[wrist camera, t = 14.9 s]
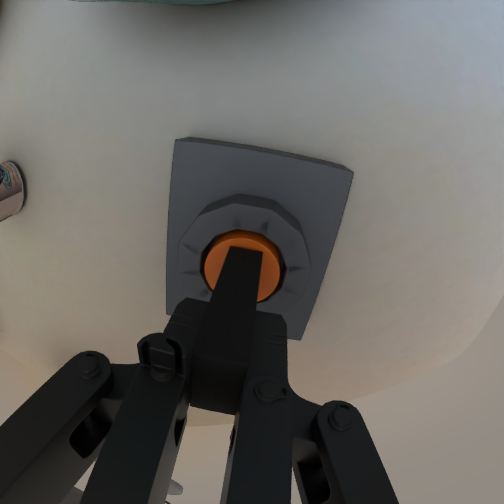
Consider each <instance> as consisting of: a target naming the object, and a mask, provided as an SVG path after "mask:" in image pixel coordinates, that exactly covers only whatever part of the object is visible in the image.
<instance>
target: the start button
mask: <svg viewBox="0 0 504 504" xmlns="http://www.w3.org/2000/svg"><path fill="white" fill-rule="evenodd" d="M230 246H234V247H239V248H245V249H250V250H255V251H261V252H263V257H262V265H261V273H260V282H259V290H258V298H257V302H258V301H261V300H263V299H264V298H266V297H267V296H269V295H270V294H271V293H272V292H273V291H274V289H275V288H276V286H277V284H278V281H279V277H280V254H279V249H278V246H276V245H275V244H274V243H273V242H271V241H270V240H269V239H268V238H267V237H265V236H264V235H263V234H262V233H257V232H252V231H247V230H241V229H235V230H232V231H229V232H226V233H223V234H220V235H219V236H218V237H217V239H216V240H215V242H214V244H213V246H212V248H211V250H210V252H209V254H208V256H207V258H206V261H205V276H206V279H207V281H208V283H209V285H210V287H211V288H212V289H213V290H214V288H215V285H216V282H217V279H218V277H219V274H220V271H221V269H222V266H223V263H224V260H225V258H226V255H227V252H228V250H229V247H230Z"/></svg>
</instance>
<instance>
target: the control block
mask: <svg viewBox="0 0 504 504" xmlns="http://www.w3.org/2000/svg"><path fill="white" fill-rule="evenodd" d="M353 175H354V172H353V171H351V170H350V169H348V168H347V167H345V166H344V165H340V164H336V163H332V162H328V161H324V160H320V159H315V158H311V157H307V156H302V155H298V154H293V153H288V152H283V151H278V150H273V149H267V148H262V147H256V146H250V145H244V144H238V143H231V142H224V141H217V140H209V139H201V138H193V137H186V138H181V139H176V140H175V144H174V153H173V162H172V173H171V184H170V196H169V211H168V229H167V256H166V314H167V315H170V316H172V314H173V312H174V310H175V308H176V306H177V304H178V303H179V302H181V301H182V300H184V299H185V298H186V297H189V298H193V299H198V300H202V301H207V302H209V301H210V299H211V296H212V293H213V289H212V288H211V287H210V285H209V283H208V281H207V279H206V276H205V261H206V258H207V256H208V254H209V252H210V250H211V248H212V246H213V244H214V242H215V240H216V239H217V237H218V236H219V235H220V234H223V233H226V232H229V231H232V230H235V229H241V230H247V231H252V232H257V233H262V234H263V235H264V236H265V237H267V238H268V239H269V240H270V241H271V242H273V243H274V244H275V245H276V246H278V249H279V254H280V277H279V281H278V284H277V286H276V288H275V289H274V291H273V292H272V293H271V294H270V295H269V296H267V297H266V298H264V299H263V300H261V301H258V302H257V306H256V310H258V311H263V312H269V313H275V314H281V315H282V317H283V318H284V320H285V322H286V324H287V339H293V340H301V339H302V336H303V334H304V331H305V328H306V326H307V323H308V320H309V318H310V315H311V312H312V309H313V307H314V304H315V301H316V298H317V295H318V292H319V289H320V286H321V284H322V281H323V278H324V275H325V272H326V268H327V265H328V262H329V259H330V256H331V253H332V250H333V246H334V243H335V240H336V237H337V233H338V230H339V226H340V223H341V219H342V216H343V212H344V209H345V205H346V202H347V198H348V194H349V190H350V187H351V183H352V179H353Z"/></svg>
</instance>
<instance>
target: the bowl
mask: <svg viewBox="0 0 504 504" xmlns="http://www.w3.org/2000/svg"><path fill="white" fill-rule="evenodd" d="M71 1H92V2H93V1H125V2H155V3H171V4H184V5H203V4H214V3H222V2H229V1H234V0H71Z"/></svg>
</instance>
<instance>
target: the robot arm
mask: <svg viewBox="0 0 504 504" xmlns="http://www.w3.org/2000/svg"><path fill="white" fill-rule="evenodd" d="M262 257H263V252H261V251H255V250H250V249H245V248H239V247H234V246H230V247H229V250H228V252H227V255H226V258H225V260H224V263H223V266H222V269H221V271H220V274H219V277H218V279H217V282H216V285H215V288H214V290H213V293H212V296H211V299H210V301H209V302H207V301H202V300H198V299H193V298H189V297H186V298H185V299H184V300H182V301H181V302H179V303H178V304H177V306H176V308H175V310H174V312H173V314H172V316H171V318H170V320H169V323H168V324H167V326H166V328H165V330H164V332H163V333H153V334H149V335H147V336H145V337H143V338H142V339H141V340H140V341H139V342H138V343H137V348H138V354H139V360H140V363H137V364H110V361H109V359H108V358H107V357H106V356H105V355H104V354H102V353H99V352H97V351H85V352H80V353H79V354H77V355H75V356H74V357H73V358H72V359H70V360H69V361H68V362H67V363H66V364H65V365H64V366H63V367H62V368H61V369H59V370H58V371H57V372H56V373H55V374H54V375H53V376H52V377H51V378H50V379H49V380H48V381H47V382H45V383H44V384H43V385H42V386H41V387H40V388H39V389H38V390H37V391H36V392H35V393H34V394H33V395H32V396H31V397H30V398H29V399H28V400H27V401H26V402H25V403H24V404H23V405H21V407H19V408H18V409H17V410H16V411H15V412H14V413H13V414H12V415H11V416H10V417H9V418H8V419H7V420H6V421H5V422H4V423H3V424H2V425H1V426H0V504H165V503H167V504H170V503H169V502H167V501H165V499H166V496H167V492H168V488H169V484H170V481H171V477H172V473H173V469H174V465H175V462H176V458H177V454H178V451H179V447H180V443H181V440H182V436H183V432H184V429H185V425H186V422H187V410H188V407H189V403H190V406H192V407H196V408H201V409H205V410H210V411H215V412H220V413H225V414H230V415H235V421H234V425H233V429H232V432H231V436H230V447H229V452H228V459H227V465H226V471H225V476H224V482H223V488H222V494H221V500H220V504H291V478H292V477H291V476H292V467H293V471H294V475H295V479H296V482H297V486H298V490H299V494H300V498H301V501H302V504H399V502H398V500H397V497H396V495H395V492H394V490H393V488H392V485H391V483H390V480H389V478H388V476H387V473H386V471H385V468H384V466H383V464H382V461H381V459H380V457H379V454H378V452H377V450H376V447H375V445H374V443H373V441H372V438H371V436H370V434H369V432H368V430H367V427H366V425H365V422H364V420H363V418H362V416H361V414H360V413H359V411H358V410H357V408H355V407H354V406H353V405H351V404H350V403H347V402H344V401H337V400H333V401H330V402H327V403H325V404H324V405H323V406H321V405H318V404H315V403H313V402H310V401H307V400H305V399H303V398H301V397H300V396H298V395H297V394H296V393H295V392H294V391H293V390H292V389H291V387H290V385H289V383H288V362H287V324H286V322H285V320H284V318H283V317H282V315H281V314H275V313H269V312H263V311H258V310H256V306H257V298H258V290H259V282H260V273H261V265H262ZM97 457H98V458H97ZM96 458H97V460H96V463H95V465H94V468H93V470H92V473H91V475H90V477H89V480H88V483H87V485H86V488H85V490H84V492H83V491H81V490H80V489H78V488H76V487H74V485H75V484H76V483H77V482H78V480H79V479H80V478H81V477H82V476H83V474H84V473H85V472H86V471H87V469H88V468H89V467H90V466H91V464H92V463H93V462H94V461H95V459H96ZM68 493H69V495H67V494H68Z"/></svg>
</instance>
